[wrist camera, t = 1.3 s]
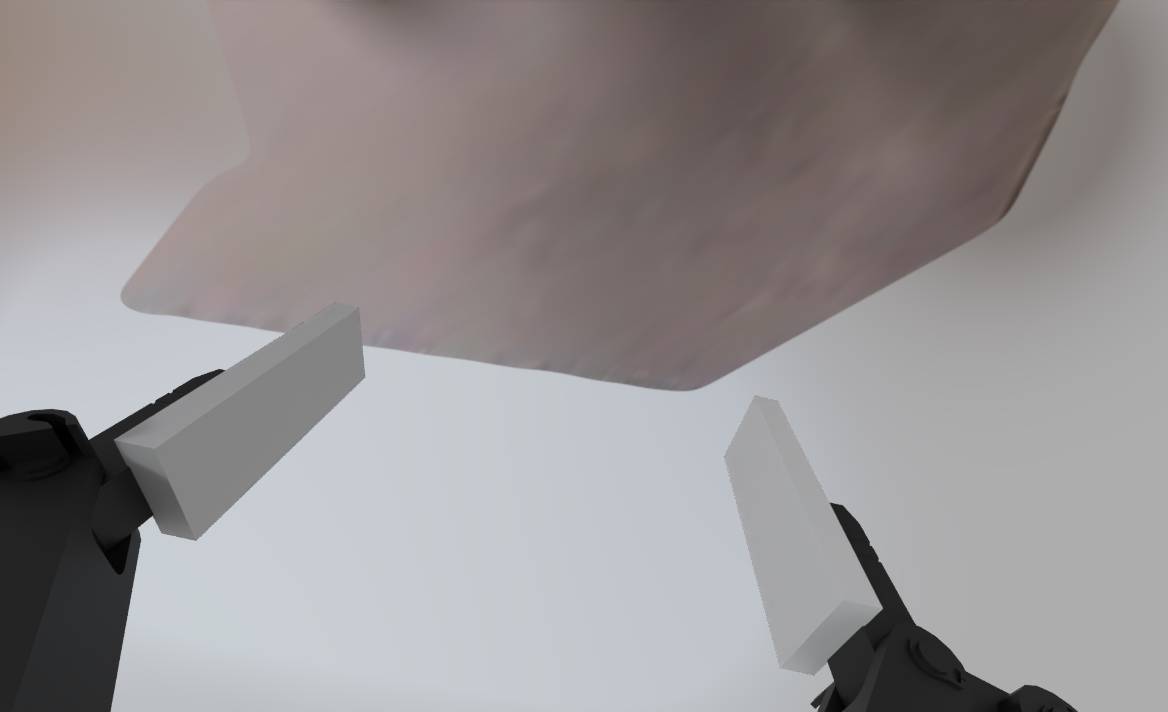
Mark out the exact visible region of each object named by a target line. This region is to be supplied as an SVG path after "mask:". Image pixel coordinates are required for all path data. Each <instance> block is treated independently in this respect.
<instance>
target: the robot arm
mask: <svg viewBox="0 0 1168 712" xmlns="http://www.w3.org/2000/svg"><path fill="white" fill-rule="evenodd" d="M364 378H365V369H364V359H363V348H362V337H361V326H360V315H359V307H354V306H350V305H345V304H341V303H336V302H335V303H334V304H332V305H331V306H329V307H327V308H326V309H324V310H322V311H321V312H319V313H318V314H316V315H314V316H313V317H311V318H310V319H308V320H306V321H305V322H303V323H301V324H300V325H298V326H297V327H295V328H293V329H292V330H290V331H289V332H287V333H285V334H284V335H282V336H281V337H279V338H277V339H276V340H274V341H273V342H271V343H269V344H268V345H266V346H264V347H263V348H261V349H260V350H258V351H256V352H255V353H253V354H252V355H250V356H248V357H247V358H245V359H243V360H242V361H240V362H239V363H237V364H235V365H234V366H232V367H231V368H229V369H227V370H222V369H218V370H215V371H212V372H209V373H206V374H204V375H201V376H198V377H195V378H193V379H191V380H189V381H188V382H186V383H185V384H183V385H181V386H179V387H178V388H176V389H174V390H173V392H172V393H167V394H166V395H164V396H162V397H161V398H159V399H157V400H156V402H155V403H154V404H152V403H150V404H149V405H147V406H146V407H144V408H142V409H140V410H139V411H137V412H135V413H134V414H132V415H130V416H129V417H127V418H125V419H124V420H122V421H120V422H118V423H117V424H115V425H113V426H112V427H110V428H109V429H107V430H105V431H103V432H101V433H100V434H98V435H96V436H95V437H93V438H91V439H90V440H88V438H87V436H86V434H85V433H84V431H83V429H82V427H81V425H80V424H79V422H78V420H77V418H76V416H74V415H73V414H71V413H69V412H68V411H63V410H55V409H45V410H31V411H27V412H22V413H18V414H13V415H9V416H6V417H3V418H0V712H110V711H111V706H112V700H113V694H114V689H115V683H116V678H117V672H118V666H119V661H120V655H121V650H122V644H123V638H124V633H125V626H126V621H127V616H128V610H129V605H130V599H131V594H132V588H133V582H134V576H135V571H136V565H137V560H138V554H139V548H140V543H141V538H140V532H139V530H138V527H139V526H141V525H142V524H143V523H144V522H145V521H146V520H148V519H149V518H150V517H152V516H153V517H154V519H155V521H156V523H157V525H158V527H159V529H160V531H161V533H163V534H167V535H172V536H177V537H181V538H186V539H191V540H195V541H196V540H197V539H198V538H199V537H200V536H202V535H203V534H204V533H205V532H206V531H207V530H208V529H209V528H210V527H211V526H212V525H213V524H214V523H215V522H216V521H217V520H218V519H219V518H220V517H221V516H222V515H223V514H224V513H225V512H226V511H227V510H228V509H229V508H230V507H231V506H232V505H234V504H235V503H236V502H237V501H238V500H239V499H240V498H241V497H242V496H243V495H244V494H245V493H246V492H247V491H248V490H249V489H250V488H251V487H252V486H253V485H254V484H255V483H256V482H257V481H258V480H259V479H260V478H262V476H264V475H265V474H266V473H267V472H268V471H269V470H270V469H271V468H272V467H273V466H274V465H275V464H276V463H277V462H278V461H279V460H280V459H281V458H282V457H283V456H284V455H285V454H286V453H287V452H288V451H289V450H290V449H292V447H294V446H295V445H296V444H297V443H298V442H299V441H300V440H301V439H302V438H303V437H304V436H305V435H306V434H307V433H308V432H309V431H310V430H311V429H312V428H313V427H314V426H315V425H316V424H317V423H318V422H319V421H320V420H321V419H322V418H324V417H325V416H326V414H328V413H329V412H330V411H331V410H332V409H333V408H334V407H335V406H336V405H337V404H338V403H339V402H340V401H341V400H342V399H343V398H344V397H345V396H346V395H347V394H348V393H349V392H350V391H352V390H353V388H354V387H356V386H357V385H358V384H359V383H360V382H361V381H362V380H363V379H364ZM724 458H725V462H726V465H727V469H728V473H729V477H730V481H731V484H732V488H733V492H734V496H735V499H736V503H737V507H738V511H739V514H740V518H741V522H742V526H743V529H744V533H745V537H746V541H747V545H748V549H749V552H750V556H751V560H752V564H753V567H754V571H755V575H756V579H757V582H758V586H759V590H760V593H761V598H762V601H763V605H764V609H765V613H766V616H767V620H768V624H769V627H770V631H771V635H772V639H773V643H774V647H775V650H776V654H777V658H778V662H779V665H780V668H783V669H787V670H792V671H796V672H801V673H805V674H810V675H815V674H816V673H817V672H818V671H819V670H820V669H821V668H822V667H823V666H824V665H825V664H826V663H827V662H828V664H829V667H830V670H831V673H832V675H833V678H834V682H833V683H832V684H831V685H830V686H828V687H827V688H826V689H825V690H824V691H823V692H822V693H821V694H820V695H819V696H817V697H816V698H815V699H814V701H813V702H812V703H811V705H812V706H813V707H814V708H817V707H818V706H819V705H820V704H821V705H820V707H819V709H818V712H1077V711H1076V710H1075V709H1074V708H1073V707H1072V706H1071V705H1069V704H1068V703H1066V702H1065V701H1063V700H1062V699H1061V698H1059V697H1058V696H1056V695H1055V694H1053V693H1052V692H1049V691H1047V690H1045V689H1043V688H1040V687H1038V686H1031V685H1024V686H1023V687H1021V688H1019V689H1018V690H1016V691H1014V692H1013V693H1011V694H1009V693H1006V692H1005V691H1003V690H1001V689H999V688H997V687H995V686H993V685H991V684H989V683H987V682H985V681H983V680H981V679H979V678H977V677H976V676H974V675H972V674H970V673H968V672H966V671H965V669H964V667H963V665H962V664H961V662H960V661H959V660H958V659H957V657H956V656H955V655H954V654H953V652H952V651H951V650H950V649H949V648H948V647H947V646H946V645H945V644H944V643H942V642H941V641H940V640H939V639H938V638H937V637H936V636H934V635H932V634H931V633H929V632H928V631H926V630H924V629H923V628H921V627H919V626H916V624H915V623H914V621H913V620H912V618H911V616H910V614H909V612H908V611H907V608H906V607H905V605H904V603H903V601H902V599H901V598H900V596H899V594H898V592H897V590H896V589H895V587H894V585H893V583H892V582H891V580H890V578H889V576H888V574H887V572H886V571H885V569H884V567H883V565H882V563H881V562H879V561H878V559H879V558H878V556H877V554H876V553H875V551H874V549H873V547H872V546H870V544H869V543H870V542H869V540H868V538H867V536H866V535H865V533H864V531H863V529H862V528H861V526H860V524H859V523H858V521H857V520H856V519H855V518H854V517H853V516H852V515H851V514H850V513H849V512H848V511H847V510H846V508H845V507H844V506H843V505H838V504H834V503H829V501H828V499H827V497H826V495H825V493H824V491H823V489H822V488H821V485H820V483H819V481H818V479H817V477H816V476H815V474H814V471H813V470H812V467H811V466H810V464H809V462H808V460H807V458H806V456H805V454H804V452H803V450H802V448H801V446H800V444H799V442H798V440H797V438H796V436H795V434H794V432H793V430H792V428H791V426H790V424H789V422H788V420H787V418H786V416H785V414H784V412H783V410H782V408H781V406H780V404H779V402H778V401H777V400H772V399H768V398H763V397H759V396H754V398H753V400H752V402H751V404H750V406H749V408H748V410H747V412H746V414H745V416H744V418H743V420H742V422H741V424H740V426H739V428H738V430H737V432H736V434H735V436H734V438H733V440H732V442H731V444H730V446H729V448H728V450H727V452H726V454H725V456H724Z"/></svg>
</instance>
